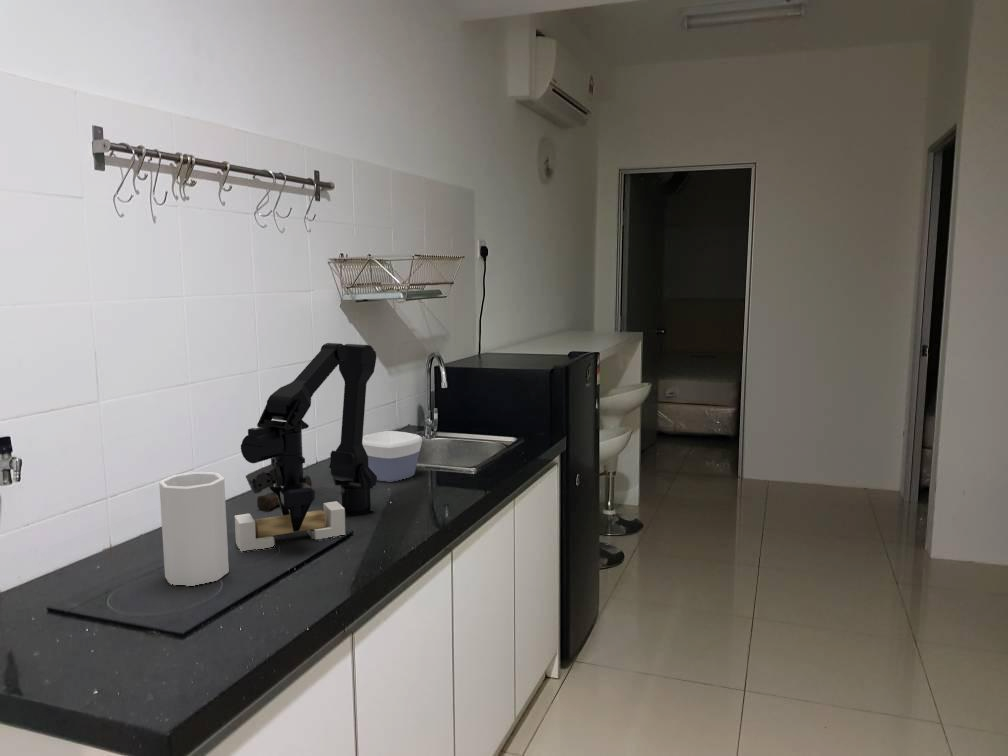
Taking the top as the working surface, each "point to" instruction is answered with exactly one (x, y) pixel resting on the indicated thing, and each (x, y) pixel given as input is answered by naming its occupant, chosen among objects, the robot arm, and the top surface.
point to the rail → (288, 524)
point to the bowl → (392, 454)
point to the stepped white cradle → (249, 541)
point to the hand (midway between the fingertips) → (291, 524)
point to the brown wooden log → (274, 498)
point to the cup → (194, 528)
